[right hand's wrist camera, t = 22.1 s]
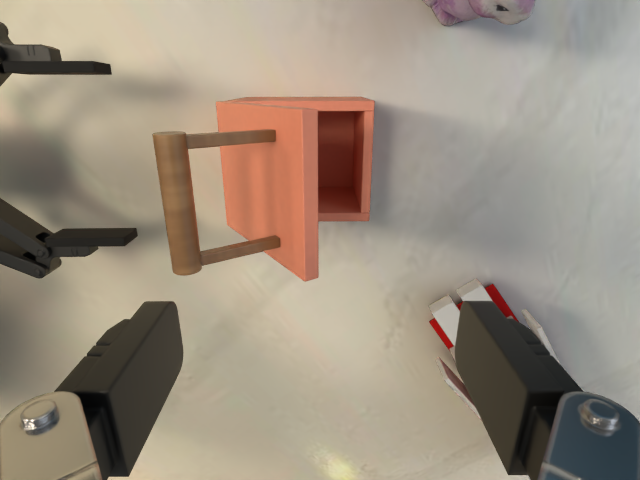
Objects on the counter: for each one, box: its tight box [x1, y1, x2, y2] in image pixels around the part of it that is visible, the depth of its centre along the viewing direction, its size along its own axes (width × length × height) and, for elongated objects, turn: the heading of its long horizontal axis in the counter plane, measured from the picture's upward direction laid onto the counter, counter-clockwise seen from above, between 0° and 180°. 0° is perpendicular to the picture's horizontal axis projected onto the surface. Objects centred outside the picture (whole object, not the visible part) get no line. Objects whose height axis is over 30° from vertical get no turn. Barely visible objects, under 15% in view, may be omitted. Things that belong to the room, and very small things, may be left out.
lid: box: [153, 101, 318, 281], centre depth 26 cm, size 13×10×8 cm
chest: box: [228, 97, 375, 221], centre depth 39 cm, size 12×10×11 cm
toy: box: [429, 278, 560, 479], centre depth 49 cm, size 12×13×30 cm
